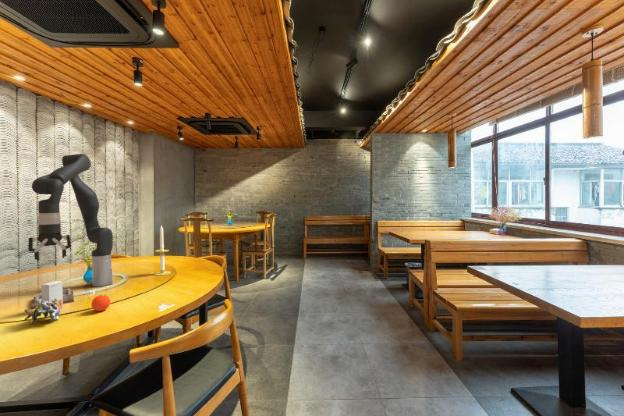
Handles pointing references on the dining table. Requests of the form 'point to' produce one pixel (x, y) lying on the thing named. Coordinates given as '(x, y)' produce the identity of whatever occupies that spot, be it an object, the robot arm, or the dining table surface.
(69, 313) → the dining table surface
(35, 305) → the brown shallow box
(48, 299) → the skincare box
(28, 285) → the dining table surface
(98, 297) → the clementine
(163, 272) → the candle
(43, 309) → the passion flower
